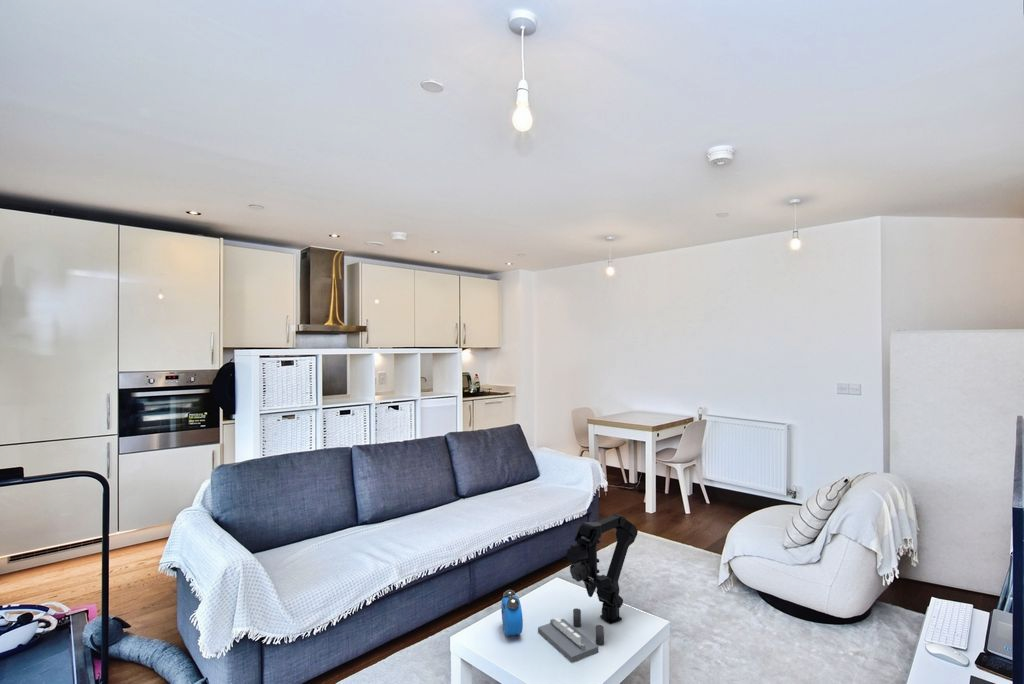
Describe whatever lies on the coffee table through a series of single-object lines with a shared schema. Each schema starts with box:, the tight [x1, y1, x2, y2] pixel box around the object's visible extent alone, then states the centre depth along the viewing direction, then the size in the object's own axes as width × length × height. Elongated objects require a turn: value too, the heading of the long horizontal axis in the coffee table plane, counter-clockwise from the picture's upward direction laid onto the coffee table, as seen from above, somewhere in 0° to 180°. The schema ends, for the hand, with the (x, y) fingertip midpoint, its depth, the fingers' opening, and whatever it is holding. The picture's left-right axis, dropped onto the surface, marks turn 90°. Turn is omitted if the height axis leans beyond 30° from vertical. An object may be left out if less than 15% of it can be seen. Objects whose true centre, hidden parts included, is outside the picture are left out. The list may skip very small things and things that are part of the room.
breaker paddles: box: [552, 617, 581, 648], centre depth 183 cm, size 1×18×3 cm, turn 30°
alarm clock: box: [500, 589, 524, 637], centre depth 190 cm, size 13×6×15 cm, turn 12°
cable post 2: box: [595, 624, 605, 647], centre depth 182 cm, size 3×3×6 cm
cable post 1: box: [572, 607, 582, 629], centre depth 194 cm, size 3×3×6 cm
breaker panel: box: [537, 618, 600, 664], centre depth 183 cm, size 12×22×4 cm, turn 30°
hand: (590, 596), depth 191 cm, fingers closed
